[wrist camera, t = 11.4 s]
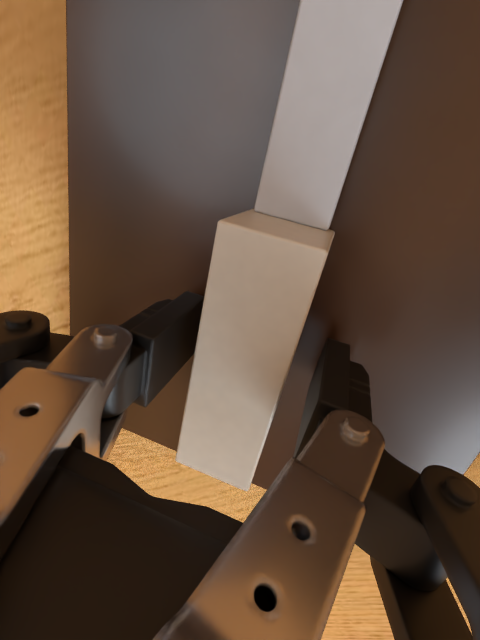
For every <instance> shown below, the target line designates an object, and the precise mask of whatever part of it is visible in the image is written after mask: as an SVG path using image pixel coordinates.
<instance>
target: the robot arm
mask: <svg viewBox="0 0 480 640" xmlns="http://www.w3.org/2000/svg"><path fill="white" fill-rule="evenodd" d="M203 302H204V296H201V295H198V294H195V293H192V292H189V291H186V292H184V293H183V294H181V295H180V296H178V297H177V298H175V299H174V300H171V299H166V300H162V301H158V302H155V303H154V304H152V305H151V306H149V307H147V309H144V310H143V311H141V312H140V314H137V315H135V316H134V317H132V318H130V319H129V320H127V321H126V322H124V323H123V324H121V325H120V326H116V325H110V324H99V325H92V326H89V327H86V328H84V329H82V330H81V331H80V332H79V333H78V334H77V335H76V336H69V335H62V334H56V333H50V322H49V319H48V318H47V317H46V316H45V315H43V314H40V313H37V312H33V311H9V312H4V313H0V640H321V637H322V634H323V631H324V628H325V626H326V623H327V620H328V617H329V614H330V611H331V609H332V606H333V603H334V600H335V597H336V594H337V592H338V589H339V586H340V583H341V580H342V578H343V575H344V572H345V569H346V566H347V563H348V561H349V558H350V555H351V552H352V549H353V546H354V544H356V545H357V546H359V547H360V548H361V549H362V550H364V551H365V552H366V553H367V554H369V555H370V560H371V565H372V568H373V572H374V575H375V578H376V581H377V584H378V588H379V591H380V594H381V597H382V600H383V604H384V607H385V610H386V613H387V617H388V620H389V623H390V626H391V629H392V633H393V636H394V639H395V640H480V488H479V487H478V486H477V485H476V484H474V483H473V482H472V481H471V480H469V479H468V478H467V477H465V476H464V475H462V474H460V473H459V472H457V471H455V470H452V469H450V468H447V467H444V466H440V465H430V466H427V467H425V468H424V469H423V471H422V472H421V474H420V473H418V472H416V471H415V470H413V469H412V468H410V467H408V466H407V465H405V464H403V463H402V462H400V461H399V460H397V459H396V458H394V457H393V456H392V455H391V454H389V453H388V452H387V451H386V450H385V449H384V447H385V440H384V437H383V435H382V433H381V432H380V430H379V429H378V428H377V427H376V425H374V424H373V422H372V408H371V396H370V387H369V386H370V381H369V374H368V373H367V371H366V370H365V368H364V367H363V365H362V364H359V363H356V362H353V361H350V345H349V344H346V343H343V342H340V341H337V340H334V339H331V338H327V340H326V342H325V345H324V347H323V350H322V353H321V355H320V358H319V361H318V363H317V366H316V368H315V371H314V374H313V376H312V379H311V382H310V385H309V388H308V392H307V396H306V401H305V405H304V410H303V415H302V419H301V424H300V428H299V433H298V438H297V442H296V447H295V452H294V456H293V457H292V458H291V459H290V460H289V461H288V462H287V463H286V465H285V466H284V468H283V469H282V470H281V472H280V473H279V474H278V476H277V477H276V479H275V480H274V481H273V483H272V484H271V486H270V487H269V488H268V490H267V491H266V492H265V494H264V495H263V497H262V498H261V499H260V501H259V502H258V503H257V505H256V506H255V508H254V509H253V510H252V512H251V513H250V515H249V516H248V517H247V519H246V520H245V521H244V523H242V522H240V521H238V520H235V519H233V518H231V517H229V516H227V515H224V514H222V513H220V512H218V511H215V510H213V509H211V508H209V507H206V506H201V505H195V504H189V503H184V502H178V501H173V500H167V499H162V498H156V497H153V496H151V495H149V494H148V493H146V492H145V491H144V490H143V489H141V488H140V487H139V486H138V485H137V484H136V483H134V482H133V481H132V480H131V479H130V478H128V477H127V476H126V475H125V474H124V473H123V472H121V471H120V470H119V469H118V468H117V467H115V466H114V465H113V464H111V463H109V462H107V459H108V457H109V455H110V452H111V450H112V448H113V446H114V444H115V441H116V439H117V437H118V435H119V432H120V430H121V428H122V426H123V424H124V421H125V419H126V414H127V408H128V407H129V406H130V405H131V404H132V403H135V404H138V405H140V406H143V407H145V408H146V407H147V406H148V405H149V403H150V402H151V401H152V400H153V399H154V398H155V397H156V396H157V395H158V393H159V392H160V391H161V390H162V389H163V388H164V387H165V386H166V384H167V383H168V382H169V381H170V380H171V379H172V378H173V377H174V376H175V374H176V373H177V372H178V371H179V370H180V369H181V368H182V367H183V365H184V364H185V363H186V362H187V361H188V360H189V359H190V358H191V356H192V355H193V354H194V353H195V347H196V341H197V336H198V330H199V325H200V319H201V313H202V308H203ZM447 577H448V578H449V580H450V582H451V584H452V586H453V588H454V591H455V593H456V595H457V597H458V599H459V601H460V603H461V605H462V607H463V609H464V611H465V613H466V616H467V618H468V620H469V623H470V627H471V631H472V634H471V632H470V630H469V628H468V626H467V624H466V622H465V620H464V617H463V615H462V613H461V611H460V609H459V607H458V605H457V603H456V601H455V598H454V596H453V594H452V592H451V590H450V588H449V586H448V584H447V581H446V578H447Z"/></svg>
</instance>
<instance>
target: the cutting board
mask: <svg viewBox="0 0 480 640" xmlns="http://www.w3.org/2000/svg"><path fill="white" fill-rule="evenodd" d="M299 4H300V0H66V30H67V113H68V195H69V278H70V336H76V335H77V334H78V333H79V332H80V331H81V330H82V329H84V328H86V327H89V326H92V325H99V324H110V325H116V326H120V325H121V324H123V323H124V322H126V321H127V320H129V319H130V318H132V317H134V316H135V315H137V314H140V312H141V311H143V310H144V309H147V307H149V306H151V305H152V304H154V303H155V302H158V301H162V300H166V299H171V300H174V299H175V298H177V297H178V296H180V295H181V294H183V293H184V292H186V291H189V292H192V293H195V294H198V295H201V296H204V297H205V291H206V285H207V280H208V274H209V269H210V263H211V258H212V252H213V246H214V241H215V235H216V230H217V224H218V221H219V220H222V219H225V218H227V217H230V216H233V215H236V214H239V213H242V212H245V211H248V210H251V209H254V207H255V203H256V198H257V194H258V189H259V185H260V180H261V176H262V171H263V167H264V162H265V158H266V153H267V149H268V144H269V140H270V135H271V131H272V126H273V122H274V117H275V113H276V108H277V104H278V99H279V95H280V90H281V86H282V81H283V77H284V72H285V67H286V63H287V58H288V54H289V49H290V45H291V40H292V36H293V31H294V27H295V22H296V18H297V13H298V9H299ZM329 229H330V230H333V231H334V232H335V234H334V237H333V240H332V243H331V246H330V249H329V252H328V255H327V258H326V261H325V264H324V267H323V270H322V273H321V276H320V279H319V282H318V285H317V288H316V291H315V294H314V297H313V300H312V303H311V306H310V309H309V312H308V315H307V318H306V321H305V324H304V327H303V330H302V333H301V336H300V339H299V342H298V345H297V348H296V351H295V354H294V357H293V360H292V363H291V366H290V369H289V372H288V375H287V378H286V381H285V384H284V387H283V390H282V393H281V396H280V399H279V402H278V405H277V408H276V411H275V414H274V417H273V420H272V422H271V425H270V428H269V431H268V434H267V437H266V440H265V443H264V446H263V449H262V452H261V455H260V458H259V461H258V464H257V467H256V470H255V473H254V476H253V479H252V482H251V483H253V484H255V485H257V486H260V487H262V488H264V489H267V490H268V488H269V487H270V486H271V484H272V483H273V481H274V480H275V479H276V477H277V476H278V474H279V473H280V472H281V470H282V469H283V468H284V466H285V465H286V463H287V462H288V461H289V460H290V459H291V458H292V457H293V456H294V452H295V447H296V442H297V438H298V433H299V428H300V424H301V419H302V415H303V410H304V405H305V401H306V396H307V392H308V388H309V385H310V382H311V379H312V376H313V374H314V371H315V368H316V366H317V363H318V361H319V358H320V355H321V353H322V350H323V347H324V345H325V342H326V340H327V338H331V339H334V340H337V341H340V342H343V343H346V344H349V345H350V361H353V362H356V363H359V364H362V365H363V367H364V368H365V370H366V371H367V373H368V374H369V381H370V386H369V387H370V396H371V408H372V422H373V424H374V425H376V427H377V428H378V429H379V430H380V432H381V433H382V435H383V437H384V440H385V447H384V449H385V450H386V451H387V452H388V453H389V454H391V455H392V456H393V457H394V458H396V459H397V460H399V461H400V462H402V463H403V464H405V465H407V466H408V467H410V468H412V469H413V470H415V471H416V472H418V473H420V474H421V472H422V471H423V469H424V468H425V467H427V466H430V465H440V466H444V467H447V468H450V469H452V470H455V471H457V472H459V473H460V474H462V475H463V474H464V473H465V472H466V470H467V469H468V468H469V466H470V465H471V464H472V462H473V461H474V460H475V458H476V457H477V456H478V454H479V453H480V0H403V3H402V6H401V9H400V12H399V15H398V18H397V21H396V24H395V28H394V31H393V34H392V37H391V40H390V43H389V46H388V49H387V52H386V55H385V58H384V61H383V64H382V67H381V71H380V74H379V77H378V80H377V83H376V86H375V89H374V92H373V95H372V98H371V101H370V104H369V107H368V110H367V114H366V117H365V120H364V123H363V126H362V129H361V132H360V135H359V138H358V141H357V144H356V147H355V150H354V153H353V157H352V160H351V163H350V166H349V169H348V172H347V175H346V178H345V181H344V184H343V187H342V190H341V193H340V196H339V200H338V203H337V206H336V209H335V212H334V215H333V218H332V221H331V224H330V227H329ZM193 358H194V354H193V355H192V356H191V358H190V359H189V360H188V361H187V362H186V363H185V364H184V365H183V367H182V368H181V369H180V370H179V371H178V372H177V373H176V374H175V376H174V377H173V378H172V379H171V380H170V381H169V382H168V383H167V384H166V386H165V387H164V388H163V389H162V390H161V391H160V392H159V393H158V395H157V396H156V397H155V398H154V399H153V400H152V401H151V402H150V403H149V405H148V406H147V407H146V408H145V407H143V406H140V405H138V404H135V403H132V404H131V405H130V406H129V407H128V408H127V414H126V419H125V421H124V424H123V426H122V428H123V429H126V430H128V431H131V432H133V433H135V434H138V435H140V436H142V437H145V438H147V439H149V440H152V441H154V442H156V443H159V444H161V445H163V446H166V447H168V448H170V449H173V450H175V451H177V448H178V442H179V436H180V431H181V425H182V420H183V414H184V408H185V403H186V397H187V392H188V386H189V381H190V375H191V369H192V364H193Z"/></svg>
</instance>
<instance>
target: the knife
mask: <svg viewBox="0 0 480 640" xmlns="http://www.w3.org/2000/svg"><path fill="white" fill-rule="evenodd" d="M402 3H403V0H300V4H299V9H298V13H297V18H296V22H295V27H294V31H293V36H292V40H291V45H290V49H289V54H288V58H287V63H286V67H285V72H284V77H283V81H282V86H281V90H280V95H279V99H278V104H277V108H276V113H275V117H274V122H273V126H272V131H271V135H270V140H269V144H268V149H267V153H266V158H265V162H264V167H263V171H262V176H261V180H260V185H259V189H258V194H257V198H256V203H255V207H254V209H251V210H248V211H245V212H242V213H239V214H236V215H233V216H230V217H227V218H225V219H222V220H219V221H218V224H217V230H216V235H215V241H214V246H213V252H212V258H211V263H210V269H209V274H208V280H207V285H206V291H205V297H204V302H203V308H202V313H201V319H200V325H199V330H198V336H197V341H196V347H195V353H194V358H193V364H192V369H191V375H190V381H189V386H188V392H187V397H186V403H185V408H184V414H183V420H182V425H181V431H180V436H179V442H178V448H177V453H176V459H175V460H176V461H177V462H179V463H181V464H183V465H186V466H188V467H190V468H193V469H195V470H197V471H200V472H202V473H204V474H207V475H209V476H211V477H214V478H216V479H218V480H221V481H223V482H225V483H228V484H230V485H232V486H235V487H237V488H239V489H242V490H244V491H248V490H249V488H250V485H251V482H252V479H253V476H254V473H255V470H256V467H257V464H258V461H259V458H260V455H261V452H262V449H263V446H264V443H265V440H266V437H267V434H268V431H269V428H270V425H271V422H272V420H273V417H274V414H275V411H276V408H277V405H278V402H279V399H280V396H281V393H282V390H283V387H284V384H285V381H286V378H287V375H288V372H289V369H290V366H291V363H292V360H293V357H294V354H295V351H296V348H297V345H298V342H299V339H300V336H301V333H302V330H303V327H304V324H305V321H306V318H307V315H308V312H309V309H310V306H311V303H312V300H313V297H314V294H315V291H316V288H317V285H318V282H319V279H320V276H321V273H322V270H323V267H324V264H325V261H326V258H327V255H328V252H329V249H330V246H331V243H332V240H333V237H334V234H335V232H334V231H333V230H330V229H329V227H330V224H331V221H332V218H333V215H334V212H335V209H336V206H337V203H338V200H339V196H340V193H341V190H342V187H343V184H344V181H345V178H346V175H347V172H348V169H349V166H350V163H351V160H352V157H353V153H354V150H355V147H356V144H357V141H358V138H359V135H360V132H361V129H362V126H363V123H364V120H365V117H366V114H367V110H368V107H369V104H370V101H371V98H372V95H373V92H374V89H375V86H376V83H377V80H378V77H379V74H380V71H381V67H382V64H383V61H384V58H385V55H386V52H387V49H388V46H389V43H390V40H391V37H392V34H393V31H394V28H395V24H396V21H397V18H398V15H399V12H400V9H401V6H402Z"/></svg>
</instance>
